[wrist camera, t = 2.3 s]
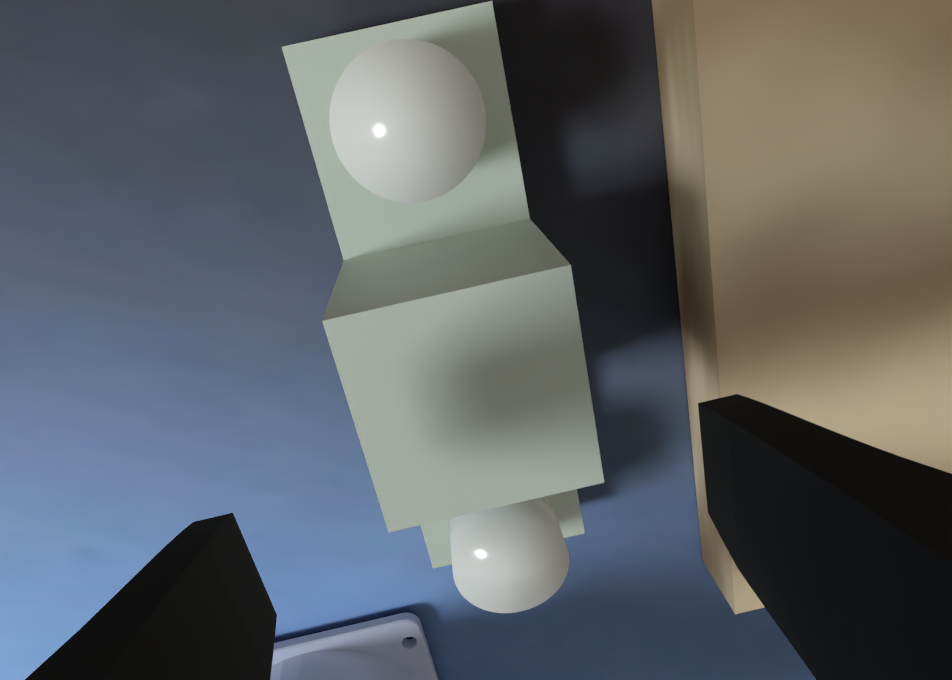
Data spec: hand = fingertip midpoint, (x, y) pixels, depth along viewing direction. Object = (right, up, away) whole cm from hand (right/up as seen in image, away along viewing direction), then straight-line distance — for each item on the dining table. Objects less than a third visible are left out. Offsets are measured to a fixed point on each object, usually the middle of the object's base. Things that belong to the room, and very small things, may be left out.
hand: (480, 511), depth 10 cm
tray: (-1, +3, +9) cm, 10 cm away
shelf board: (+11, +4, +10) cm, 16 cm away
